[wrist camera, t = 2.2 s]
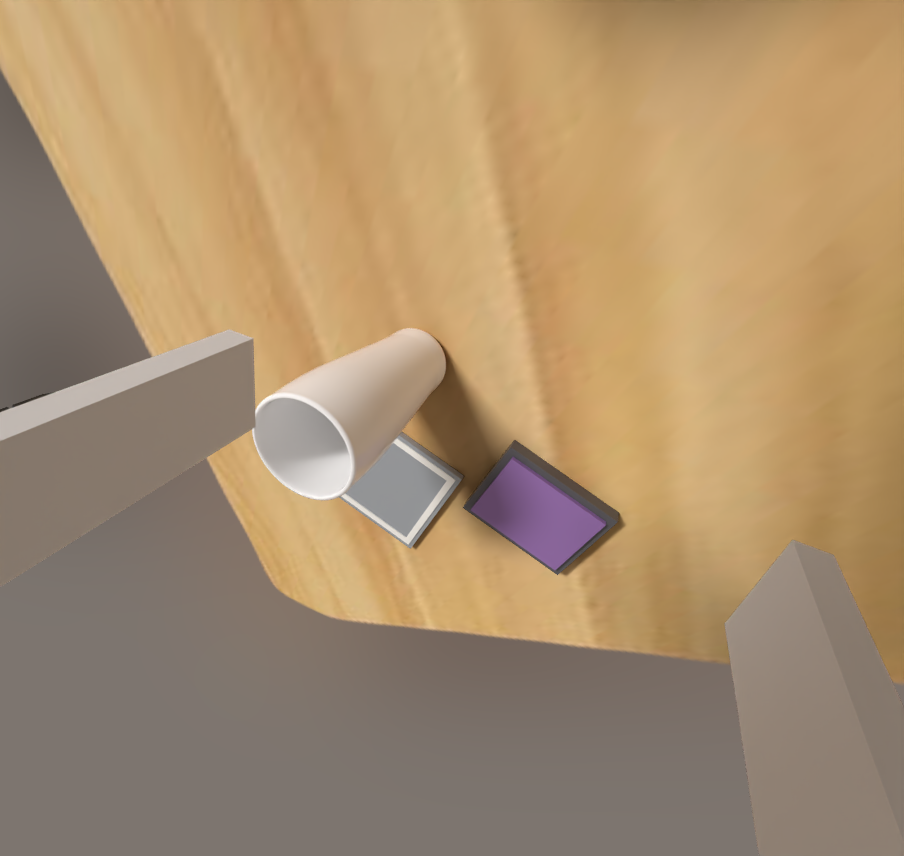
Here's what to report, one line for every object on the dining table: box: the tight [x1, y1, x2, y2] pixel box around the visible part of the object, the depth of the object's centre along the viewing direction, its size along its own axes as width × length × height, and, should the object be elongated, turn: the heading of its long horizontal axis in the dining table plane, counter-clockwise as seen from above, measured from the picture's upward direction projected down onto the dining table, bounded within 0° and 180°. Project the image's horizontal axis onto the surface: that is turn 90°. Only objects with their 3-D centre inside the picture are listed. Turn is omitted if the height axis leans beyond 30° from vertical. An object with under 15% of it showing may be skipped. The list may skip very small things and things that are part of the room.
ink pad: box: [463, 440, 619, 575], centre depth 39 cm, size 10×8×2 cm
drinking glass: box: [252, 328, 446, 500], centre depth 32 cm, size 7×7×15 cm
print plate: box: [339, 432, 464, 549], centre depth 45 cm, size 11×11×1 cm
